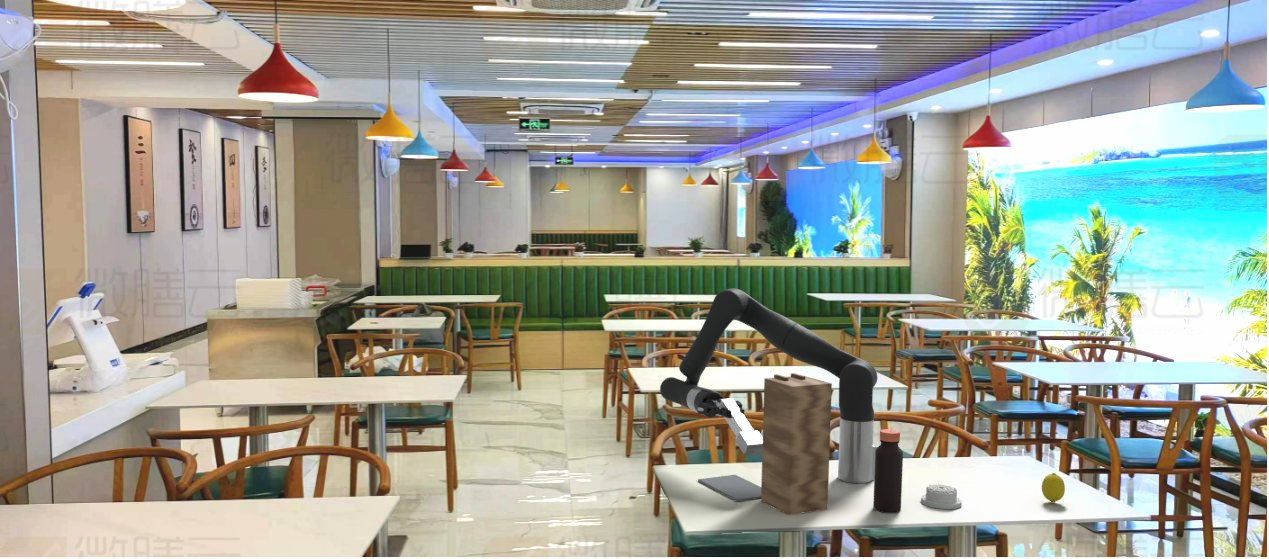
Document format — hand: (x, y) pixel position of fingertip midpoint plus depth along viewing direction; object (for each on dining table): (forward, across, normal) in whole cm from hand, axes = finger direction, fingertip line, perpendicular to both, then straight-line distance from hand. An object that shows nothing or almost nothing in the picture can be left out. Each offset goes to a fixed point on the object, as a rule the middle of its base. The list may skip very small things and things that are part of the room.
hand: (736, 413), depth 259 cm
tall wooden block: (+20, +5, +20) cm, 29 cm away
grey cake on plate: (+34, +42, +20) cm, 57 cm away
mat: (+2, -1, +20) cm, 20 cm away
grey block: (+1, 0, +4) cm, 4 cm away
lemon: (+45, +69, +20) cm, 85 cm away
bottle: (+32, +25, +20) cm, 46 cm away
